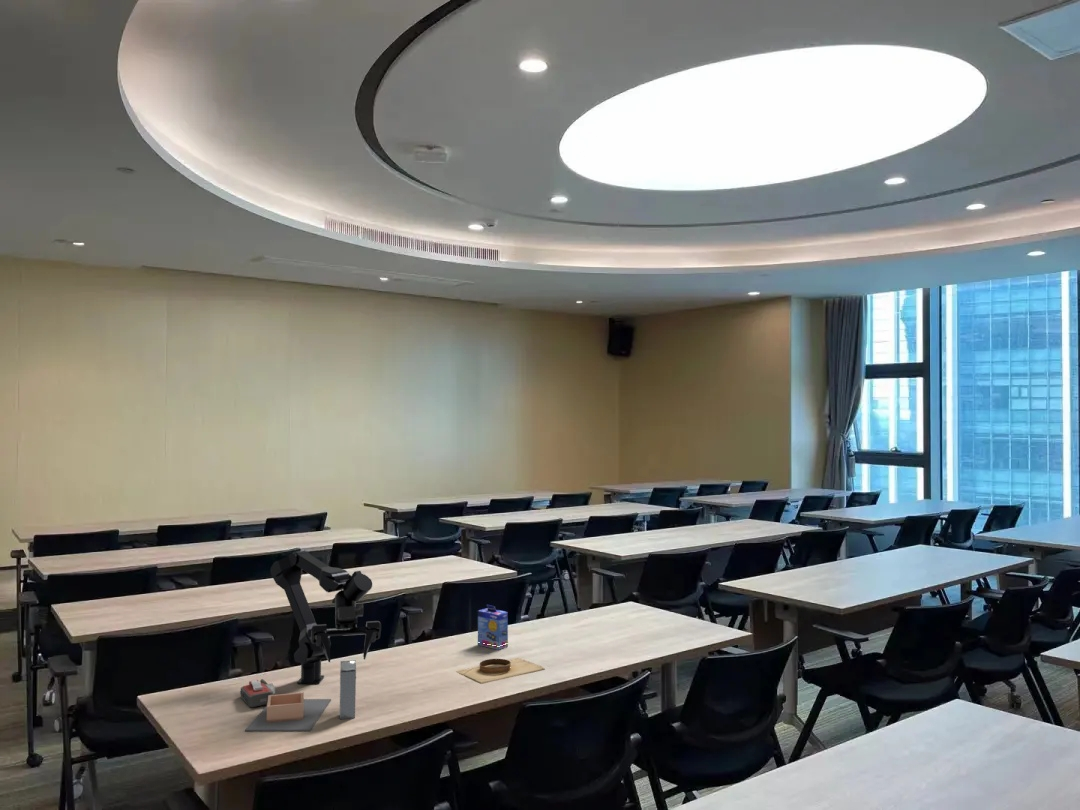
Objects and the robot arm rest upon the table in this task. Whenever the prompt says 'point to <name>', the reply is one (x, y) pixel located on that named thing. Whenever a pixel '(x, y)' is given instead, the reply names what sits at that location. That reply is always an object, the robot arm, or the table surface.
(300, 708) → the open box
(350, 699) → the grey block
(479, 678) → the board
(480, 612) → the ink cartridge box
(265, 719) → the mat
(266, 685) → the grey red device
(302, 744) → the table surface
